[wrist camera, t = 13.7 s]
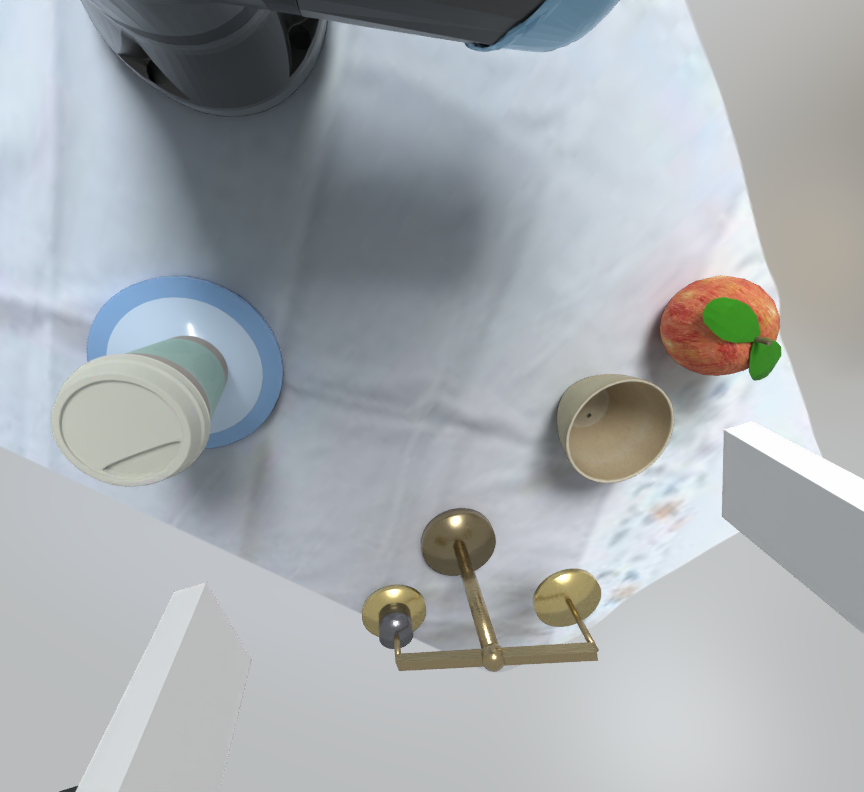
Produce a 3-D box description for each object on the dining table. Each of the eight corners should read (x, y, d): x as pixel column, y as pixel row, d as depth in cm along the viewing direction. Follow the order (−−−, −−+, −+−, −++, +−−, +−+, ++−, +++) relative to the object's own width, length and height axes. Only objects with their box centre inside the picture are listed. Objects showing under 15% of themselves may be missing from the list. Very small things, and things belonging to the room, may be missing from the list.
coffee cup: (133, 407, 38) (41, 485, 27) (136, 308, 35) (35, 349, 24) (240, 423, 40) (195, 502, 29) (251, 330, 37) (206, 378, 26)
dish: (55, 303, 35) (45, 306, 34) (243, 254, 36) (239, 256, 35) (147, 463, 41) (141, 469, 40) (307, 418, 42) (305, 423, 41)
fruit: (700, 248, 42) (797, 256, 32) (740, 324, 45) (838, 351, 36) (624, 310, 43) (697, 336, 34) (669, 379, 46) (746, 420, 37)
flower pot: (566, 463, 48) (599, 502, 42) (518, 397, 44) (545, 428, 38) (645, 408, 47) (692, 439, 41) (602, 334, 43) (646, 356, 37)
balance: (351, 538, 48) (348, 695, 32) (544, 482, 49) (632, 607, 33) (373, 593, 51) (379, 760, 35) (554, 539, 52) (638, 678, 36)
